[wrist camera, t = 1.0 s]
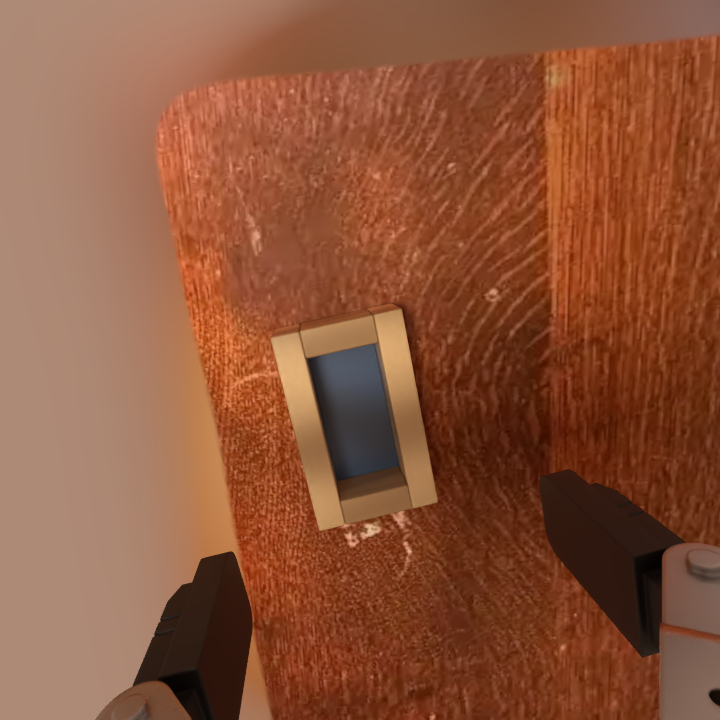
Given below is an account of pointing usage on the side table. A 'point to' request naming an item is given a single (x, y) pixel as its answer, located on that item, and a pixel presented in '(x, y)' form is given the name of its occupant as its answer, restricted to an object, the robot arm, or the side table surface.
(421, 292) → the side table surface
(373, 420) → the frame
